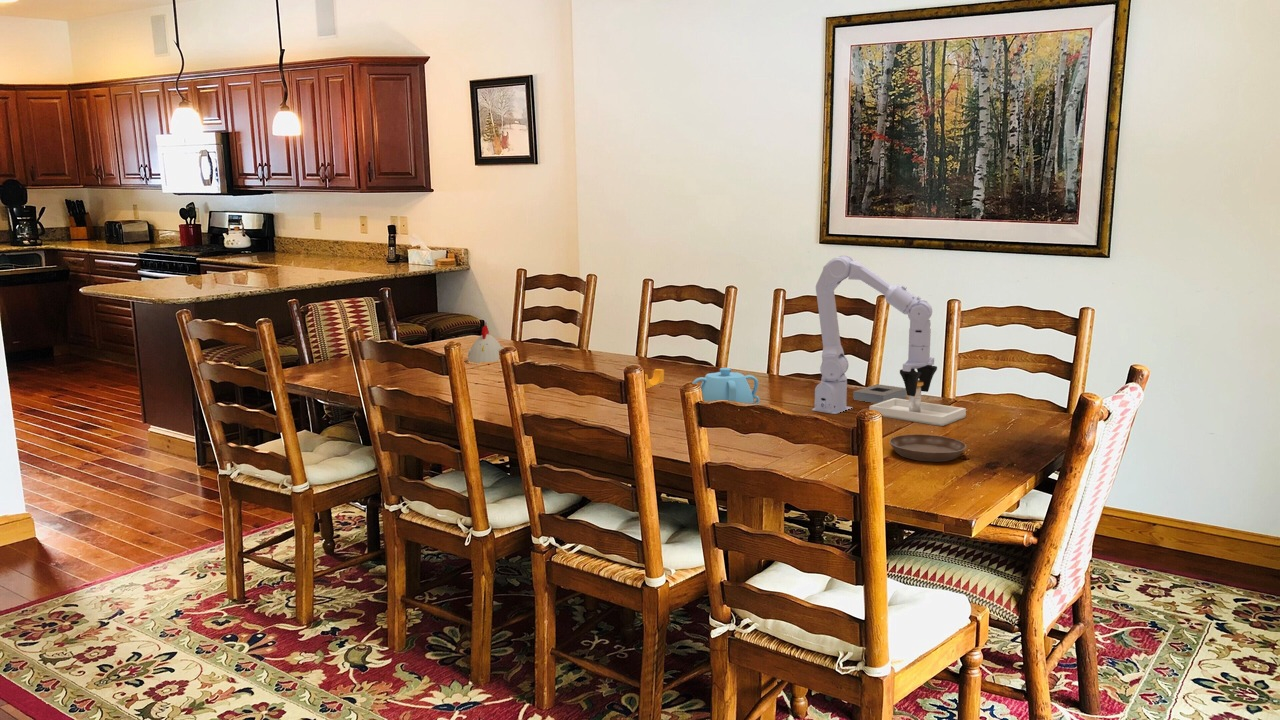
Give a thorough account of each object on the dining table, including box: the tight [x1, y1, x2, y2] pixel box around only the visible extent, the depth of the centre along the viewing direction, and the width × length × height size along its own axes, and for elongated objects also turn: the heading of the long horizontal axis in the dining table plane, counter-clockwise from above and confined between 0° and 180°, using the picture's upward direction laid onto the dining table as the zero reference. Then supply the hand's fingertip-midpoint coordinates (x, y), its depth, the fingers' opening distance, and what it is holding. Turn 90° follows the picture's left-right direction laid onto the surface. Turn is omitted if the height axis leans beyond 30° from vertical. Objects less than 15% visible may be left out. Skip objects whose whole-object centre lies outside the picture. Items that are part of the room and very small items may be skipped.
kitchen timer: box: [467, 325, 504, 363], centre depth 367 cm, size 14×14×15 cm
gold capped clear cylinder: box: [908, 379, 924, 413], centre depth 279 cm, size 4×4×9 cm
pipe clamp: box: [644, 368, 665, 389], centre depth 317 cm, size 12×4×6 cm, turn 149°
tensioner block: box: [852, 384, 907, 404], centre depth 301 cm, size 14×10×3 cm
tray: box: [868, 398, 967, 427], centre depth 279 cm, size 14×22×2 cm, turn 47°
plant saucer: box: [889, 434, 967, 463], centre depth 239 cm, size 18×18×3 cm
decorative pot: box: [691, 367, 761, 404], centre depth 282 cm, size 16×16×14 cm
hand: (917, 393), depth 278 cm, fingers open, 7 cm apart
